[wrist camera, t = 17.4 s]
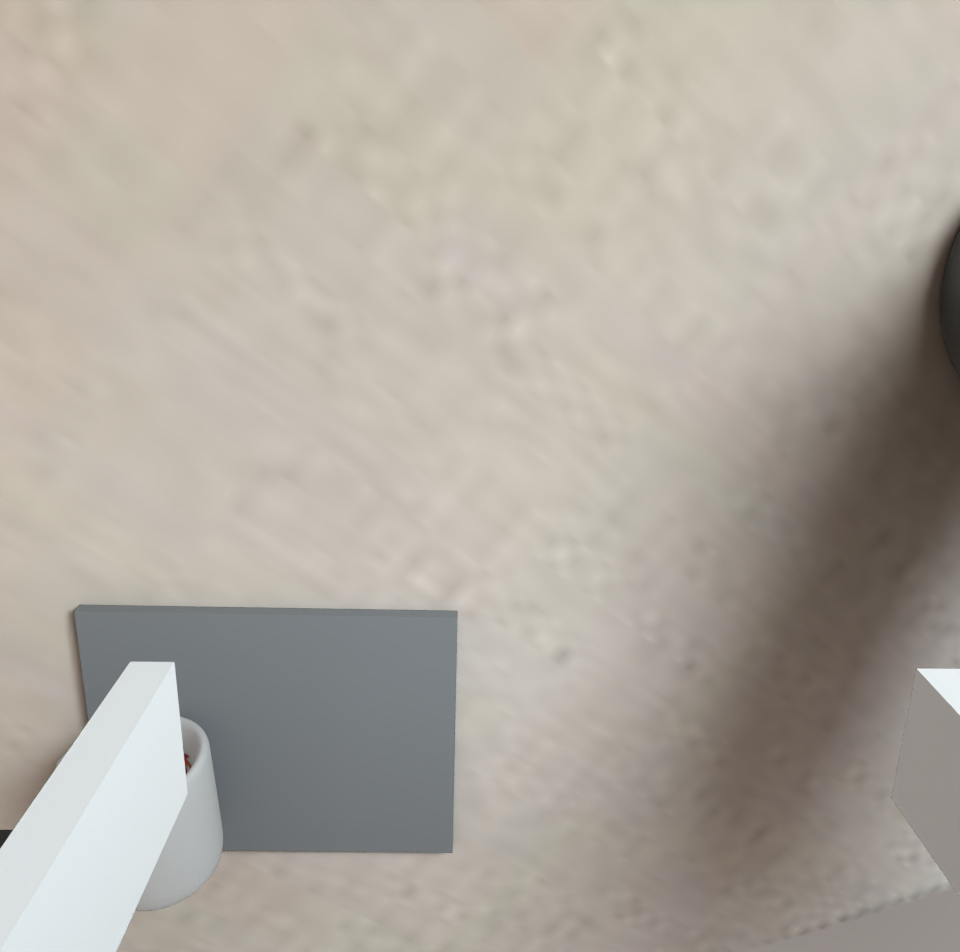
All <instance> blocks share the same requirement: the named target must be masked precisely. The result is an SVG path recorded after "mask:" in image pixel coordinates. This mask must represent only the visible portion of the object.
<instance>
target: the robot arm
mask: <svg viewBox="0 0 960 952" xmlns="http://www.w3.org/2000/svg"><path fill="white" fill-rule="evenodd" d="M941 323H942V330H943V335H944V340H945V344H946V347H947V350H948V353H949V355H950V358H951V360H952V362H953V364H954V366H955V368H956V370H957V372H958V373H959V375H960V231H959V233H958V235H957V237H956V239H955V241H954V244H953V246H952V249H951V252H950V254H949V258H948V261H947V264H946V268H945V273H944V277H943V283H942V290H941ZM187 794H188V792H187V782H186V772H185V762H184V752H183V742H182V732H181V722H180V712H179V702H178V692H177V682H176V672H175V662H130V663H129V664H128V666H127V667H126V669H125V670H124V671H123V673H122V674H121V676H120V677H119V679H118V680H117V682H116V683H115V684H114V686H113V687H112V689H111V690H110V692H109V693H108V694H107V696H106V697H105V699H104V700H103V702H102V703H101V705H100V706H99V707H98V709H97V710H96V712H95V713H94V715H93V716H92V717H91V719H90V720H89V722H88V723H87V725H86V726H85V728H84V729H83V730H82V732H81V733H80V735H79V736H78V738H77V739H76V740H75V742H74V743H73V745H72V746H71V748H70V749H69V751H68V752H67V753H66V755H65V756H64V758H63V759H62V761H61V762H60V763H59V765H58V766H57V768H56V769H55V771H54V772H53V774H52V775H51V776H50V778H49V779H48V781H47V782H46V784H45V785H44V786H43V788H42V789H41V791H40V792H39V794H38V795H37V797H36V798H35V799H34V801H33V802H32V804H31V805H30V807H29V808H28V810H27V811H26V812H25V814H24V815H23V817H22V818H21V820H20V821H19V822H18V824H17V825H16V827H15V828H14V830H0V952H116V951H117V949H118V947H119V945H120V942H121V940H122V938H123V936H124V934H125V931H126V929H127V927H128V925H129V922H130V920H131V918H132V916H133V914H134V911H135V909H136V907H137V905H138V903H139V900H140V898H141V896H142V894H143V892H144V889H145V887H146V885H147V883H148V880H149V878H150V876H151V874H152V872H153V869H154V867H155V865H156V863H157V861H158V858H159V856H160V854H161V852H162V850H163V847H164V845H165V843H166V841H167V838H168V836H169V834H170V832H171V830H172V827H173V825H174V823H175V821H176V819H177V816H178V814H179V812H180V810H181V808H182V805H183V803H184V801H185V799H186V796H187ZM891 798H892V800H893V801H894V803H895V804H896V806H897V807H898V808H899V810H900V811H901V813H902V814H903V816H904V817H905V819H906V820H907V822H908V823H909V824H910V826H911V827H912V829H913V830H914V832H915V833H916V835H917V836H918V838H919V839H920V840H921V842H922V843H923V845H924V846H925V848H926V849H927V851H928V852H929V854H930V855H931V856H932V858H933V859H934V861H935V862H936V864H937V865H938V867H939V868H940V869H941V871H942V872H943V874H944V875H945V877H946V878H947V880H948V881H949V883H950V884H951V885H952V887H953V888H954V890H955V891H956V893H957V894H958V896H959V897H960V669H916V674H915V679H914V684H913V689H912V694H911V700H910V705H909V710H908V715H907V720H906V725H905V730H904V735H903V740H902V745H901V750H900V756H899V761H898V766H897V771H896V776H895V781H894V786H893V791H892V796H891Z"/></svg>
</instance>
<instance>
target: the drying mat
mask: <svg viewBox="0 0 960 952" xmlns="http://www.w3.org/2000/svg"><path fill="white" fill-rule="evenodd" d="M74 615H75V622H76V630H77V638H78V646H79V653H80V661H81V669H82V676H83V684H84V692H85V700H86V707H87V715H88V722H89V720H90V719H91V717H92V716H93V715H94V713H95V712H96V710H97V709H98V707H99V706H100V705H101V703H102V702H103V700H104V699H105V697H106V696H107V694H108V693H109V692H110V690H111V689H112V687H113V686H114V684H115V683H116V682H117V680H118V679H119V677H120V676H121V674H122V673H123V671H124V670H125V669H126V667H127V666H128V664H129V663H130V662H175V672H176V682H177V692H178V702H179V712H180V716H181V717H184V718H187V719H190V720H192V721H193V722H195V723H197V724H198V725H199V726H200V727H201V728H202V729H203V730H204V732H205V733H206V735H207V738H208V740H209V744H210V751H211V757H212V763H213V770H214V776H215V783H216V789H217V796H218V802H219V809H220V815H221V821H222V830H223V847H222V851H295V852H407V853H452V845H453V797H454V750H455V702H456V654H457V611H434V610H371V609H308V608H245V607H182V606H119V605H79V607H78V608H77V609H76V610H75V611H74Z"/></svg>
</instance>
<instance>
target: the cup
mask: <svg viewBox="0 0 960 952" xmlns="http://www.w3.org/2000/svg"><path fill="white" fill-rule="evenodd" d="M180 722H181V732H182V742H183V752H184V762H185V772H186V782H187V792H188V794H187V796H186V799H185V801H184V803H183V805H182V808H181V810H180V812H179V814H178V816H177V819H176V821H175V823H174V825H173V827H172V830H171V832H170V834H169V836H168V838H167V841H166V843H165V845H164V847H163V850H162V852H161V854H160V856H159V858H158V861H157V863H156V865H155V867H154V869H153V872H152V874H151V876H150V878H149V880H148V883H147V885H146V887H145V889H144V892H143V894H142V896H141V898H140V900H139V903H138V905H137V907H136V909H135V910H136V911H152V910H158V909H162V908H166V907H169V906H171V905H174V904H176V903H178V902H180V901H182V900H184V899H186V898H187V897H189V896H190V895H192V894H193V893H194V892H196V891H197V890H198V889H199V888H200V887H201V886H202V885H203V884H204V883H205V882H206V881H207V880H208V879H209V878H210V876H211V875H212V874H213V872H214V870H215V869H216V867H217V865H218V862H219V860H220V857H221V853H222V847H223V830H222V821H221V815H220V809H219V802H218V796H217V789H216V783H215V776H214V770H213V763H212V757H211V751H210V744H209V740H208V738H207V735H206V733H205V732H204V730H203V729H202V728H201V727H200V726H199V725H198V724H197V723H195V722H193V721H192V720H190V719H187V718H184V717H181V716H180ZM65 755H66V754H64V755H63V756H62V757H61V758H60V759H59V760H58V761H57V763H56V766H55V769H56V768H57V766H58V765H59V763H60V762H61V761H62V759H63V758H64V756H65Z"/></svg>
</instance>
